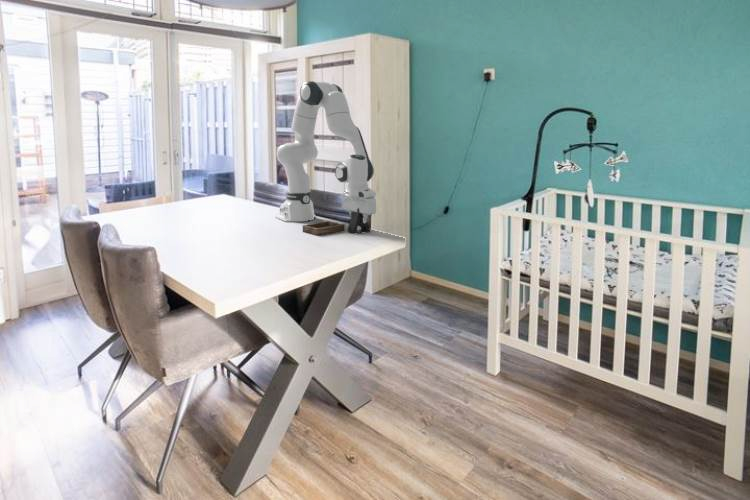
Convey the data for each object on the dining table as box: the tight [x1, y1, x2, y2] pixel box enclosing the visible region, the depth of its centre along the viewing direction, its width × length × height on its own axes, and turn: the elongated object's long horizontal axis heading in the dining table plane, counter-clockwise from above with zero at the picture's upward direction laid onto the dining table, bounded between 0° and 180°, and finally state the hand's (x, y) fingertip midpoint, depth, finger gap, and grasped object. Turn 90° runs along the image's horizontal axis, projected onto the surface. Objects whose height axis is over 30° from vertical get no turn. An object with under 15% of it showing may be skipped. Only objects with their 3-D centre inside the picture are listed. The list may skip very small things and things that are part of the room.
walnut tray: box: [302, 220, 346, 237], centre depth 241 cm, size 12×15×3 cm
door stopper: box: [347, 208, 371, 235], centre depth 239 cm, size 9×6×12 cm, turn 118°
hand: (358, 221), depth 239 cm, fingers closed on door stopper, 6 cm apart
